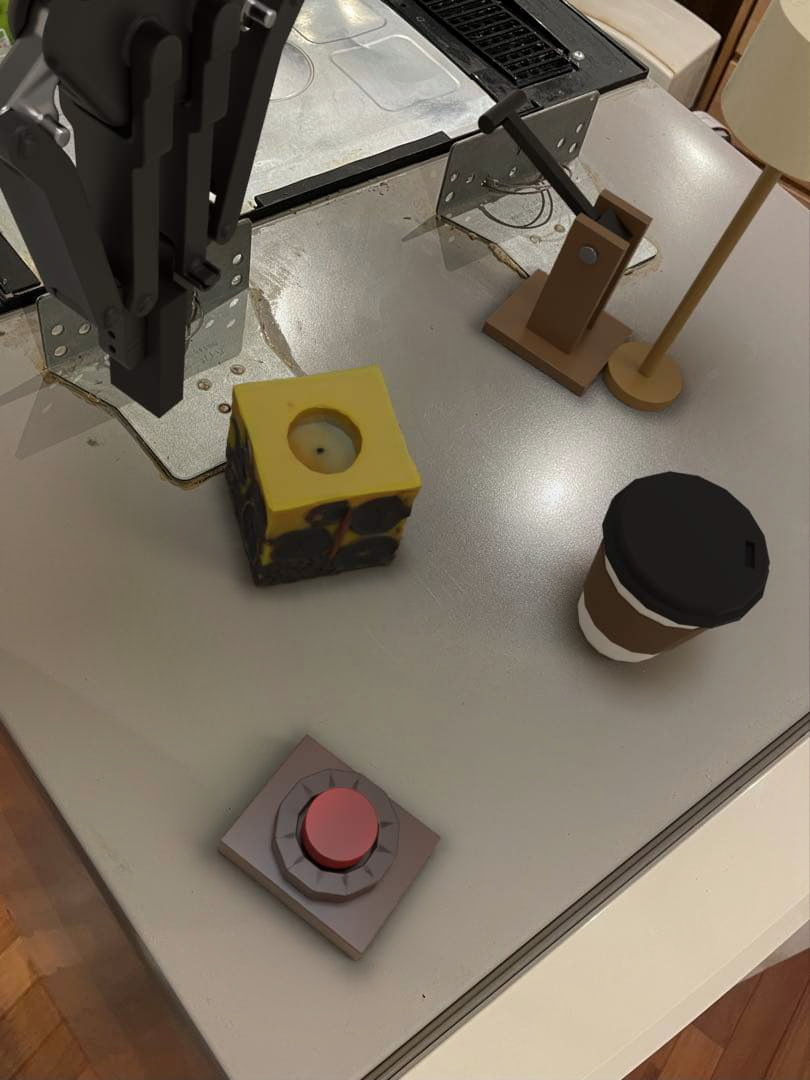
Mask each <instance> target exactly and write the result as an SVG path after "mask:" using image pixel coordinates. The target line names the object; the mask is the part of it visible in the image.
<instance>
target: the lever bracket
mask: <svg viewBox="0 0 810 1080" xmlns="http://www.w3.org/2000/svg"><path fill="white" fill-rule="evenodd" d="M593 207H594V208H595V209H596V210H597V212H598V213H599V214H600V215H602V214H603V213H604V212H606V211H607V210H608V209H609V208H611V209H612V210H613V211H614V213H615V214H616V215H617V216H618V217H619V219H620V220H621V221H622V222H623V224H624V225H625V226H626V227H627V229H628V230H629V231H630V232H631V233H632V235H633V238H632V239H631V240H630V241H629V242H627V241H625V240H623V239H622V238H620V237H619V236H617V235H616V234H614V233H613V232H611V231H609V230H608V229H606V228H605V227H603V226H602V225H600V224H598V223H597V222H595V221H594V220H592V219H591V218H589V217H587V216H586V215H584V214H583V213H580V214H579V215H578V216H577V217H576V216H575V217H574V219H573V222H572V223H571V226H570V228H569V230H568V232H567V235H566V237H565V239H564V241H563V243H562V245H561V248H560V249H559V252H558V255H557V256H556V258H555V260H554V263H553V265H552V267H551V270H550V272H549V274H548V273H547V272H546V271H544V270H542V269H541V268H536V270H534V272H533V273H532V274H530V276H529V277H527V279H525V281H524V282H523V283H522V284H521V285H520V286H519V287H518V288H517V289H516V290H515V291H514V292H513V293H512V294H511V295H509V297H508V298H507V299H506V300H504V302H503V303H502V304H501V305H500V306H499V307H498V308H497V309H496V310H495V311H494V312H493V313H492V314H491V315H490V316H489V317H488V318H487V319H486V320H485V322H484V323H483V327H482V329H481V331H482V332H483V333H485V334H486V335H487V336H489V337H490V338H492V339H493V340H495V341H496V342H498V343H499V344H500V345H502V346H504V347H506V348H507V349H508V350H510V351H511V352H513V353H514V354H516V355H517V356H519V357H520V358H522V359H523V360H524V361H526V362H528V363H529V364H531V365H532V366H534V367H535V368H536V369H538V370H540V372H542V373H544V374H545V375H547V376H548V377H550V378H552V380H554V381H556V383H559V384H561V386H563V387H565V388H566V389H568V390H569V391H571V392H572V393H574V394H575V395H577V396H578V397H580V398H581V397H582V396H583V395H584V394H585V392H587V390H588V389H589V388H590V386H591V385H592V384H593V382H595V380H596V379H597V378H598V377H599V376H600V374H601V373H603V369H604V367H605V366H606V364H607V362H608V360H609V358H610V355H611V353H612V352H613V350H615V348H616V347H618V346H620V345H621V344H623V343H627V341H628V340H629V339H630V337H631V336H632V334H633V332H634V329H632V328H631V327H629V326H628V325H626V324H625V323H623V322H622V321H620V320H618V319H617V318H615V317H614V316H612V315H611V314H610V313H608V312H606V311H605V309H606V307H607V305H608V303H609V301H610V300H611V298H612V296H613V294H614V292H615V290H616V289H617V287H618V285H619V283H620V281H621V279H622V278H623V276H624V274H625V272H626V270H627V268H628V266H629V265H630V262H631V261H632V259H633V257H634V255H635V253H636V251H637V250H638V248H639V246H640V244H641V242H642V240H643V238H644V237H645V235H646V233H647V231H648V229H649V227H650V225H651V224H652V222H653V220H654V218H653V217H651V216H650V215H648V214H647V213H646V212H643V211H642V210H640V209H639V208H637V207H636V206H634V205H632V204H631V203H630V202H628V201H626V200H625V199H623V198H621V197H619V195H616V194H615V193H614V192H612V191H611V190H608V189H607V188H604V189H603V190H602V191H601V192H600V193H599V194H598V196H597V198H596V200H595V203H594V204H593ZM616 350H617V349H616ZM613 353H614V352H613ZM613 353H612V355H613Z"/></svg>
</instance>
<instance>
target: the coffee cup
mask: <svg viewBox="0 0 810 1080" xmlns="http://www.w3.org/2000/svg"><path fill="white" fill-rule="evenodd" d="M601 531H602V539H601V541H600V544H599V545H598V548H597V551H596V553H595V555H594V557H593V559H592V562H591V565H590V567H589V569H588V572H587V575H586V577H585V580H584V582H583V584H582V592H581V595H580V598H579V600H578V603H577V613H578V622H579V627H580V629H581V631H582V634H583V635H584V637H585V639H586V641H587V642H588V643H589V644H590V645H591V646H592V647H593V648H594V649H595V650H596V651H597V652H598V653H600V654H601V655H603V656H606V657H607V658H610V659H612V660H613V661H617V662H618V661H619V662H628V663H639V662H643V661H645V660H648V659H651V658H654V657H655V656H657V655H659V654H662V653H665V652H668V651H672V650H674V649H676V648H677V647H679V646H682V645H683V644H685V643H687V642H688V641H690V640H692V639H694V638H695V637H697V636H699V635H701V634H703V633H705V632H706V631H708V630H710V629H711V630H712V629H715V628H718V627H722V626H726V625H728V624H732V623H736V622H740V620H742V618H744V617H745V616H746V615H747V614H748V613H749V612H750V611H751V610H752V609H753V608H754V607H755V606H756V605H757V604H758V603H759V602H760V601H761V600H762V599H763V598H764V595H765V593H764V592H765V591H766V586H767V582H768V578H769V576H770V575H769V574H770V564H771V561H770V555H769V550H768V545H767V540H766V536H765V534H764V532H763V530H762V529H761V527H760V525H759V524H758V522H757V520H756V519H755V517H754V515H753V514H752V512H751V511H750V509H749V508H748V507H747V506H745V504H743V503H742V502H741V501H740V500H739V499H737V497H735V496H734V495H733V494H732V493H731V492H730V491H729V490H727V489H726V488H725V487H722V486H721V485H719V484H716V483H714V482H712V481H710V480H709V479H706V478H704V477H702V476H700V475H698V474H690V473H685V472H677V471H672V470H669V471H665V472H660V473H654V474H651V475H645V476H643V477H638V478H634V479H633V480H632V481H631V482H629V483H628V484H627V485H625V486H624V487H623V488H622V489H621V490H620V491H618V492H617V493H616V494H615V495H614V496H613V497H612V498H611V499H610V503H609V505H608V508H607V510H606V513H605V516H604V518H603V521H602V523H601Z"/></svg>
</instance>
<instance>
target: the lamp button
mask: <svg viewBox="0 0 810 1080" xmlns="http://www.w3.org/2000/svg"><path fill="white" fill-rule="evenodd" d="M377 831H378V819H377V815H376V812H375V810H374V808H373V806H372V804H371V803H370V802H369V800H368V799H367V798H366V797H365V796H363V795H362V794H360V793H359V792H357V791H355V790H352V789H349V788H333V789H329V790H327V791H325V792H323V793H321V794H320V795H318V796H317V797H316V798H315V799H314V800H313V802H312V803H311V805H310V806H309V808H308V811H307V813H306V815H305V817H304V820H303V823H302V830H301V833H302V841H303V844H304V846H305V849H306V850H307V852H308V854H309V855H310V856H311V857H312V858H313V859H314V860H315V861H316V862H318V863H319V864H321V865H323V866H326V867H329V868H335V869H340V868H346V867H349V866H352V865H354V864H356V863H357V862H359V861H360V860H361V859H362V858H363V857H364V856H365V854H366V853H367V852H368V850H369V849H370V848H371V846H372V845H373V843H374V841H375V839H376V836H377Z"/></svg>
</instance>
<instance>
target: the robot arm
mask: <svg viewBox="0 0 810 1080" xmlns="http://www.w3.org/2000/svg"><path fill="white" fill-rule="evenodd" d="M305 1H306V0H8V2H7V9H6V18H7V24H8V29H9V32H10V34H11V35H10V36H11V37H12V39H13V41H14V43H13V44H12V45H11V47H10V48H9V50H8V51H7V53H6V54H5V56H4V57H3V59H2V60H1V61H0V192H1V193H2V195H3V198H4V200H5V202H6V204H7V207H8V209H9V211H10V213H11V215H12V218H13V220H14V222H15V225H16V226H17V229H18V232H19V233H20V235H21V238H22V240H23V242H24V244H25V246H26V249H27V251H28V253H29V256H30V257H31V260H32V262H33V264H34V266H35V269H36V271H37V274H38V276H39V277H40V280H41V282H42V284H43V287H44V289H45V291H46V292H47V293H48V294H49V295H50V296H52V297H54V298H55V300H57V301H59V302H60V303H62V304H63V305H65V306H66V307H68V308H69V309H70V310H72V311H73V312H74V313H75V314H77V315H79V316H80V317H81V318H83V319H84V320H85V321H87V322H88V323H89V324H91V325H92V326H93V327H95V328H96V329H97V335H98V338H97V339H98V346H99V347H100V349H101V350H102V351H103V352H104V353H105V354H106V355H108V357H109V361H108V362H109V376H110V377H109V380H110V385H112V386H113V387H115V388H116V389H118V390H119V391H120V392H122V393H123V394H124V395H126V396H127V397H128V398H130V399H131V400H132V401H134V402H135V403H136V404H137V405H139V406H141V407H142V408H143V409H145V410H146V411H148V412H149V413H150V414H152V415H153V416H154V417H156V418H157V419H159V420H160V419H161V418H162V417H163V416H165V415H166V414H167V413H168V412H169V411H171V410H172V409H173V408H174V407H176V406H177V405H178V404H179V403H180V402H182V401H183V400H184V384H185V362H186V361H185V360H186V339H187V338H186V337H187V327H188V326H189V324H190V322H191V319H192V315H193V306H194V305H193V303H194V288H196V289H197V290H199V291H200V292H201V293H207V292H209V291H210V290H211V289H213V288H214V286H215V285H216V284H217V282H218V281H219V279H220V276H221V273H222V269H220V268H219V267H218V266H216V265H214V264H213V263H212V262H210V261H209V260H207V248H208V247H209V246H210V244H212V242H213V243H216V244H217V245H219V246H224V245H226V244H227V243H229V242H230V241H231V240H232V239H233V237H234V235H235V233H236V231H237V228H238V225H239V221H240V218H241V213H242V209H243V206H244V202H245V198H246V194H247V189H248V186H249V182H250V179H251V174H252V171H253V166H254V162H255V159H256V155H257V151H258V148H259V143H260V139H261V135H262V132H263V128H264V124H265V120H266V116H267V112H268V109H269V104H270V102H271V97H272V93H273V90H274V85H275V82H276V77H277V73H278V70H279V67H280V66H279V65H280V62H281V58H282V54H283V51H284V48H285V46H286V43H287V41H288V39H289V37H290V35H291V33H292V30H293V28H294V25H295V23H296V21H297V19H298V17H299V15H300V12H301V11H302V8H303V6H304V3H305ZM56 89H57V91H58V101H59V102H58V103H59V106H60V107H59V108H60V110H61V112H62V114H63V116H64V118H65V119H66V121H67V122H68V123H69V124H70V126H71V129H72V132H73V133H72V134H73V145H74V157H75V159H74V161H75V163H74V162H73V159H72V158H71V157H70V155H69V154H68V153H67V151H65V150H64V148H65V147H66V146H68V144H69V142H70V140H71V131H70V130H69V128H68V127H67V126H65V125H64V124H62V123H61V122H60V112H59V110H58V108H57V105H56V102H55V95H56ZM210 193H211V194H213V195H214V196H215V197H214V201H213V200H211V199H210V195H211V194H210Z"/></svg>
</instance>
